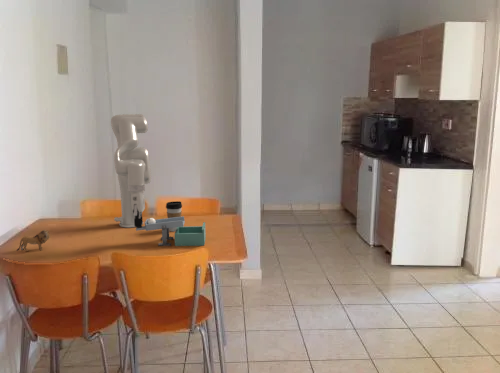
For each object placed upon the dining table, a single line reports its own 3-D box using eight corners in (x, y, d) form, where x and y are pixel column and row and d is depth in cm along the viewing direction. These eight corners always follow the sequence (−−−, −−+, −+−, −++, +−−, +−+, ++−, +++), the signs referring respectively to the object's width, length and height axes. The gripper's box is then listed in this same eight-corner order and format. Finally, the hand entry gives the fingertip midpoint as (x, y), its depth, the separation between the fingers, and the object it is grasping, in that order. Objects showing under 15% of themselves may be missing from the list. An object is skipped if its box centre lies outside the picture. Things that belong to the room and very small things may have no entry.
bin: (174, 246, 226) (174, 229, 225) (177, 238, 238) (177, 222, 236) (204, 245, 227) (204, 229, 225) (205, 237, 239) (205, 222, 237)
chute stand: (158, 246, 226) (157, 226, 224) (161, 238, 238) (160, 219, 236) (170, 246, 226) (169, 226, 224) (173, 238, 238) (172, 219, 236)
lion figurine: (51, 246, 227) (49, 228, 225) (50, 249, 222) (48, 231, 220) (17, 249, 222) (15, 231, 220) (15, 253, 217) (13, 234, 215)
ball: (147, 227, 228) (145, 219, 227) (148, 225, 232) (147, 217, 231) (155, 226, 228) (154, 218, 227) (157, 224, 232) (155, 216, 231)
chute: (135, 232, 227) (132, 216, 225) (138, 227, 234) (135, 212, 232) (183, 226, 227) (181, 211, 225) (184, 222, 234) (182, 207, 232)
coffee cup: (179, 232, 247) (178, 204, 244) (164, 231, 248) (163, 203, 245) (185, 228, 255) (184, 200, 252) (170, 227, 257) (169, 200, 253)
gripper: (141, 191, 218) (143, 230, 222) (147, 184, 234) (149, 220, 238) (124, 192, 218) (127, 230, 222) (132, 184, 234) (134, 220, 238)
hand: (138, 225), depth 230 cm, fingers closed on chute, 2 cm apart
